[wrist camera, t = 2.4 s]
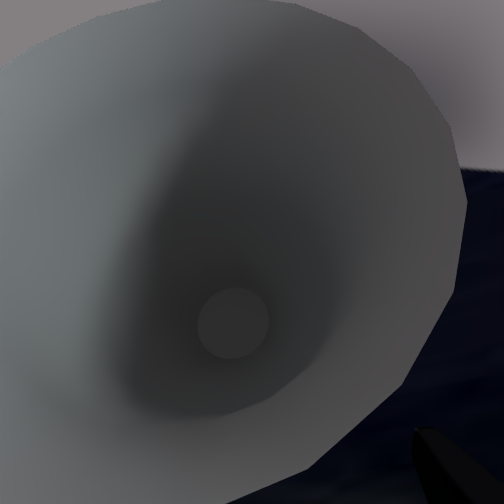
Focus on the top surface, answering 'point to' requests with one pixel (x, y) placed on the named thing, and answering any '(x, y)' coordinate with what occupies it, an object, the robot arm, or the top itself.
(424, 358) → the top surface
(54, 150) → the chalice
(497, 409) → the top surface
